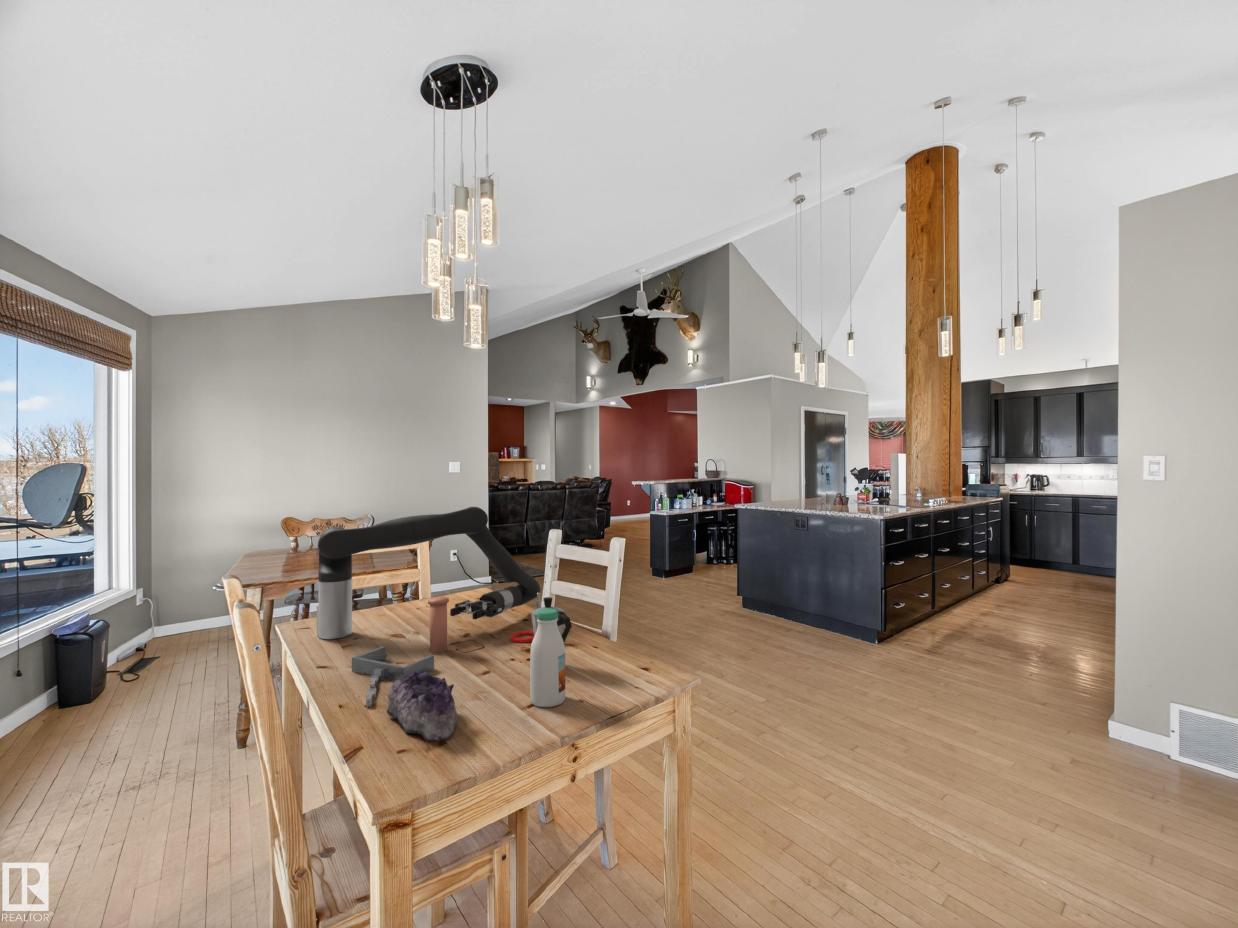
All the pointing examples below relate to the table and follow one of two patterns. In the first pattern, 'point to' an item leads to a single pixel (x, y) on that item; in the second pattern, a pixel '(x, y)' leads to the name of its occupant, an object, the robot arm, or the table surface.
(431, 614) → the pin
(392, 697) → the geode
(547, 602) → the coffee maker
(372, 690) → the chain
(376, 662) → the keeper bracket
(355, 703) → the table surface
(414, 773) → the table surface
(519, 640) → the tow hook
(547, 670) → the milk bottle
